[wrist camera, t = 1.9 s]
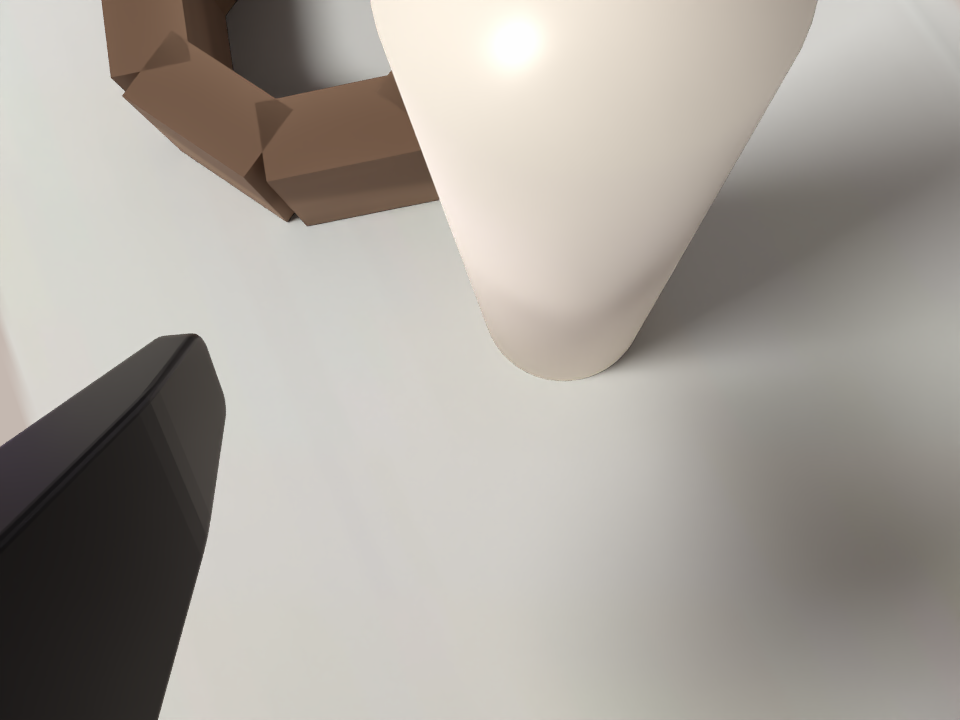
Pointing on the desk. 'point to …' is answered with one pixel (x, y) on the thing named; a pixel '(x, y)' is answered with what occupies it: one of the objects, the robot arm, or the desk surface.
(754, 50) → the cream tapered cylinder
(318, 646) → the desk surface
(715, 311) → the desk surface
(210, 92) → the brown segmented ring
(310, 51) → the desk surface
